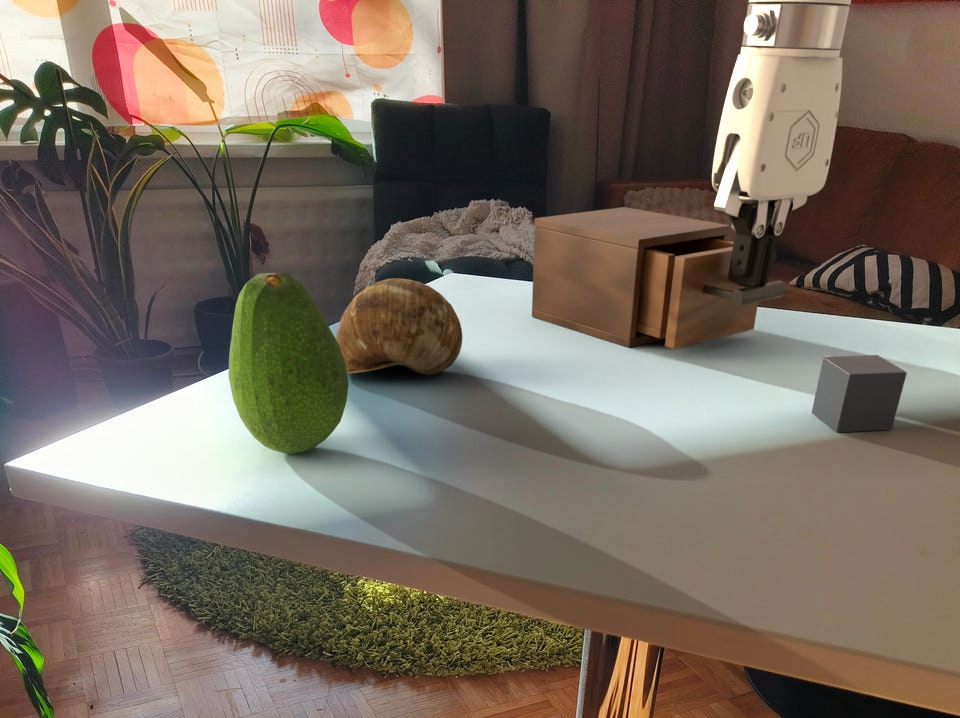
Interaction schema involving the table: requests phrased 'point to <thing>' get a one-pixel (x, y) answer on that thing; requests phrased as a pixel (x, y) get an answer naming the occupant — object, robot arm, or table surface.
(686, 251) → the drawer
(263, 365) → the fruit
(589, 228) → the cabinet
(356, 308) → the seashell
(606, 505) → the table surface
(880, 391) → the block
